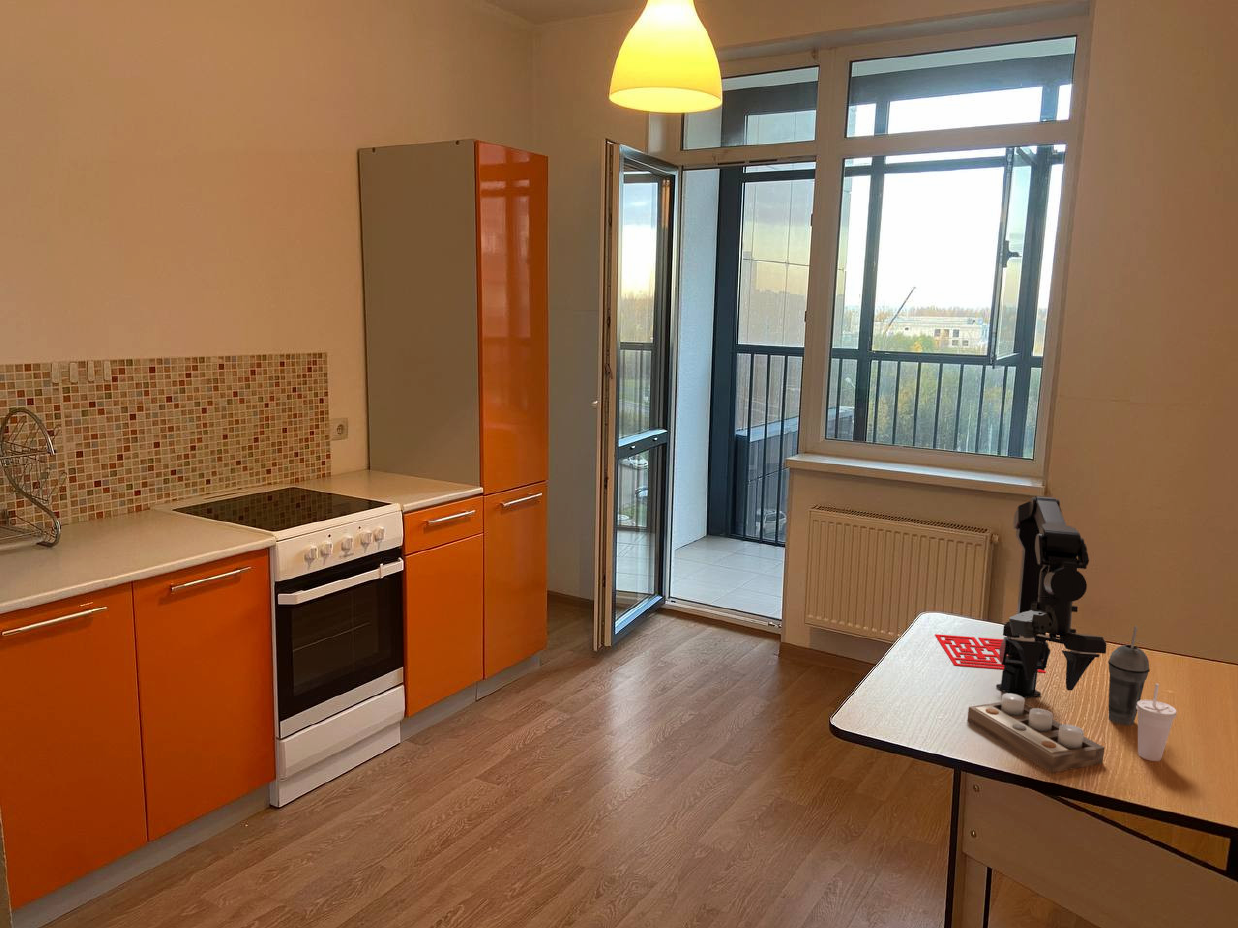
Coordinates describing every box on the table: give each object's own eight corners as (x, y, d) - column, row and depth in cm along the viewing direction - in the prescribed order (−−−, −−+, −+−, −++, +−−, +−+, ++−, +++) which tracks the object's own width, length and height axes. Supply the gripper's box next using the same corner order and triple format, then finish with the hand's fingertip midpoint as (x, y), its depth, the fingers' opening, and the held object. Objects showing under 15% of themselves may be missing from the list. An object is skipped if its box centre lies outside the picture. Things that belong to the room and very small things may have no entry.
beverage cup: (1137, 715, 185) (1151, 621, 181) (1145, 731, 178) (1159, 633, 174) (1097, 709, 187) (1110, 616, 183) (1104, 724, 180) (1117, 627, 177)
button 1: (1012, 706, 181) (1013, 692, 180) (1027, 715, 177) (1029, 700, 177) (996, 708, 179) (998, 694, 179) (1011, 717, 176) (1013, 702, 175)
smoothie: (1122, 747, 170) (1132, 677, 168) (1154, 747, 171) (1164, 677, 169) (1144, 764, 164) (1155, 691, 162) (1177, 764, 165) (1189, 691, 162)
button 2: (1069, 738, 168) (1071, 722, 167) (1086, 748, 164) (1089, 732, 164) (1052, 741, 166) (1054, 725, 166) (1070, 751, 163) (1072, 735, 162)
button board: (1015, 713, 183) (1016, 697, 183) (1102, 763, 164) (1104, 745, 164) (967, 720, 179) (969, 704, 179) (1051, 772, 160) (1053, 754, 159)
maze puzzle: (1018, 642, 225) (1018, 640, 225) (1045, 674, 206) (1045, 671, 205) (934, 636, 227) (934, 634, 227) (953, 667, 208) (954, 664, 208)
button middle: (1039, 721, 174) (1041, 707, 174) (1056, 731, 171) (1058, 715, 170) (1023, 724, 173) (1025, 709, 172) (1039, 733, 169) (1041, 718, 169)
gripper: (983, 589, 172) (976, 672, 171) (1061, 601, 154) (1055, 694, 153) (1029, 593, 175) (1023, 675, 174) (1111, 605, 158) (1105, 696, 157)
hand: (1049, 684), depth 165 cm, fingers open, 9 cm apart
